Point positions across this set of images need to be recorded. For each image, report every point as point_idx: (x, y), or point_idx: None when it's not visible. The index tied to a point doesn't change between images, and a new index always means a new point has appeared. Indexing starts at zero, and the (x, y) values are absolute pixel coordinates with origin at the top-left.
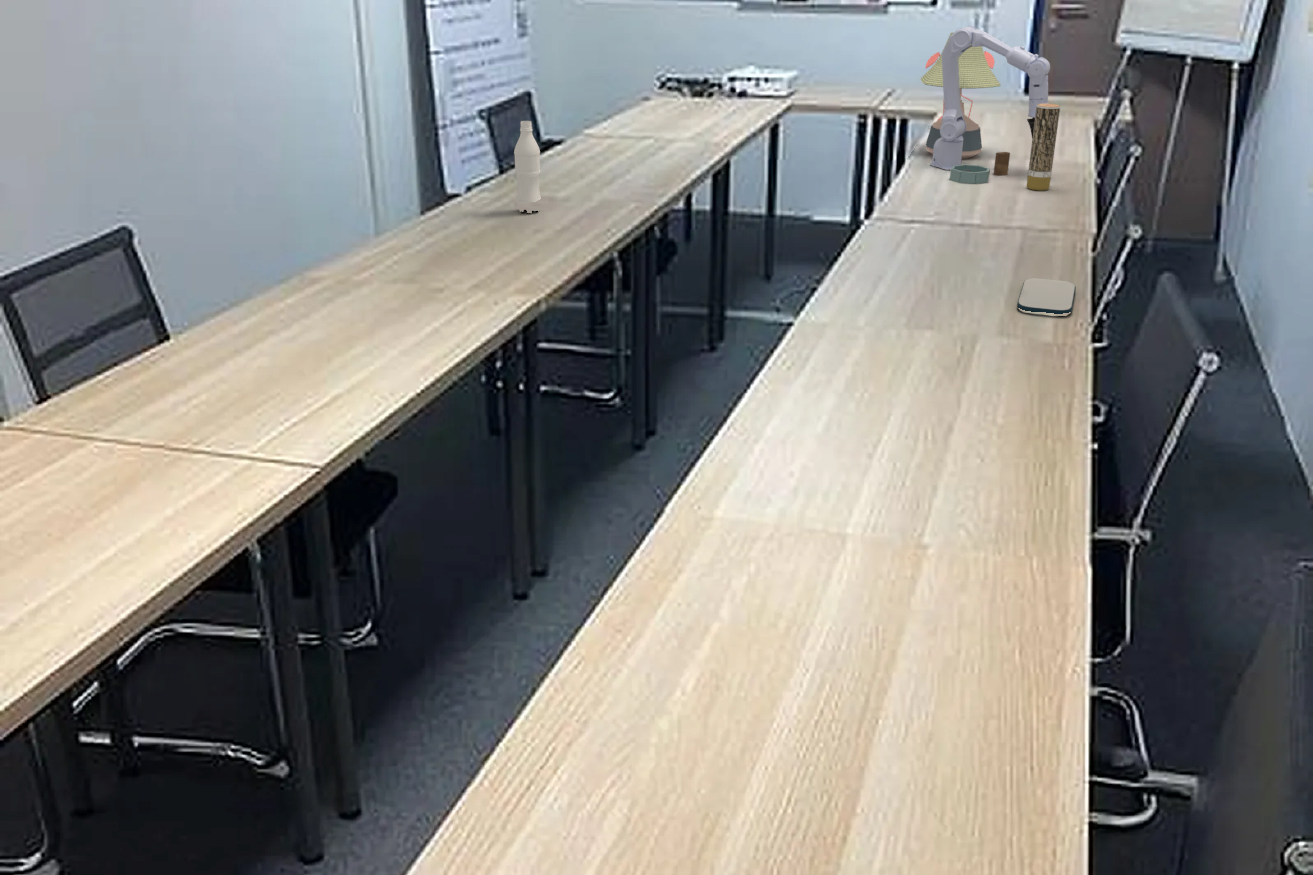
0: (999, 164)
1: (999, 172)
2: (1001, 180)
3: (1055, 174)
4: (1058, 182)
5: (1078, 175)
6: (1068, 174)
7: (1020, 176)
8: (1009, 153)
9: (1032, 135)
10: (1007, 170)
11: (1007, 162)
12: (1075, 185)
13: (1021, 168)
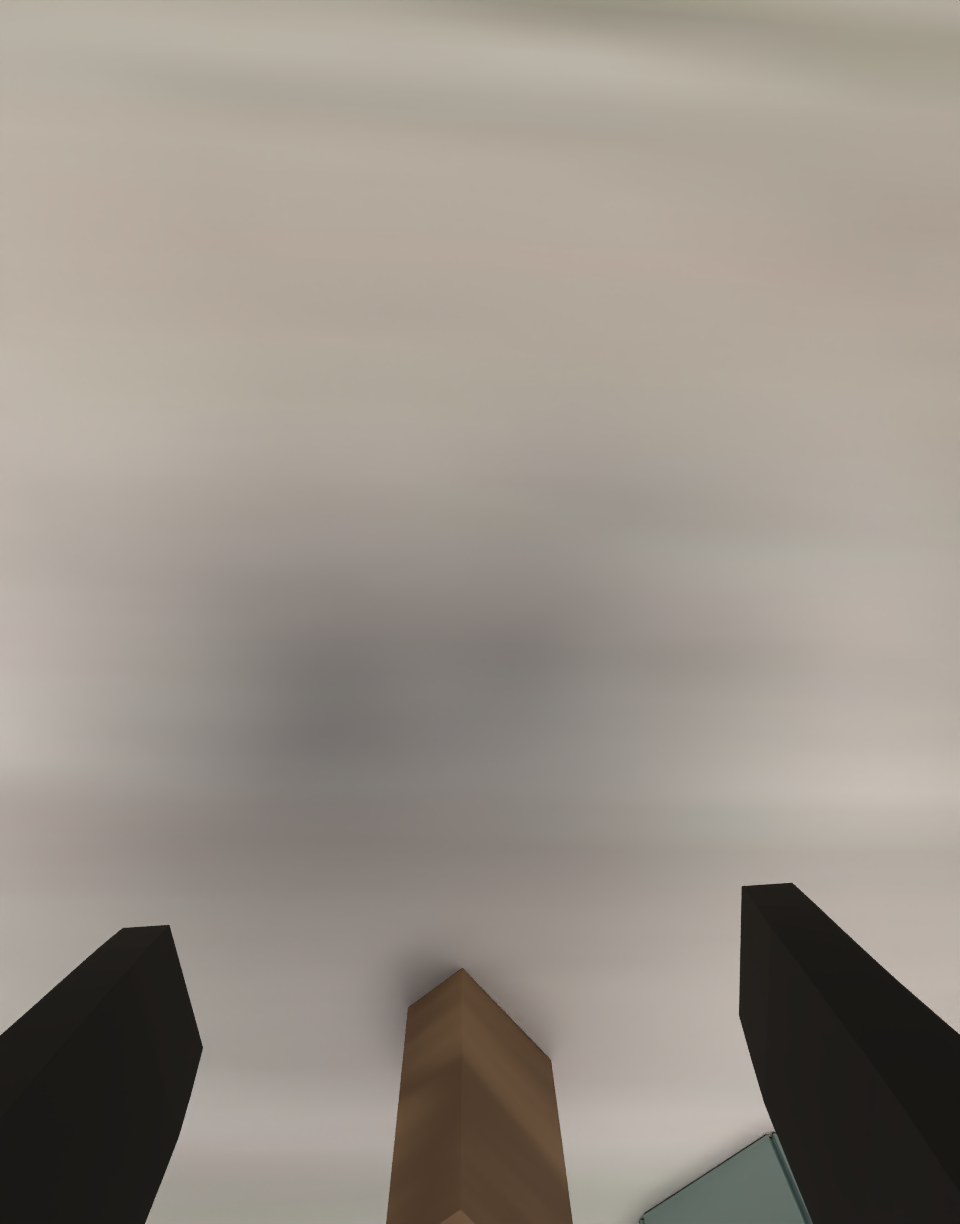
0: (562, 1169)
1: (542, 1075)
2: None
3: (262, 415)
4: (777, 396)
5: (224, 74)
6: (200, 227)
7: (518, 836)
8: (470, 1207)
9: (143, 1206)
10: (469, 1009)
11: (480, 1100)
12: (934, 167)
13: (28, 823)
